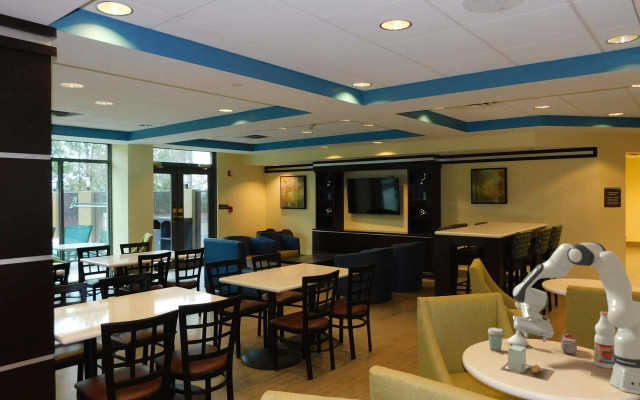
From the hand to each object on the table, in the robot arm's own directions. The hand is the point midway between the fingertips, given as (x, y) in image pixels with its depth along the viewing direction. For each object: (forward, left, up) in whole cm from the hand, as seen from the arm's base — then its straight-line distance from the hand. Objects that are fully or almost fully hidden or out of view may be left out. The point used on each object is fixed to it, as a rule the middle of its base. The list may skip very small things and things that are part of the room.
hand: (535, 338), depth 243 cm
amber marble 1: (-4, +17, -12) cm, 21 cm away
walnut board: (0, +15, -13) cm, 20 cm away
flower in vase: (+16, -27, -13) cm, 34 cm away
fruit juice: (-29, -21, -13) cm, 38 cm away
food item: (-10, -32, -13) cm, 36 cm away
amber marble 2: (-4, +14, -12) cm, 19 cm away
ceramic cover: (+5, +15, -12) cm, 20 cm away
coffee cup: (+23, -8, -13) cm, 28 cm away
